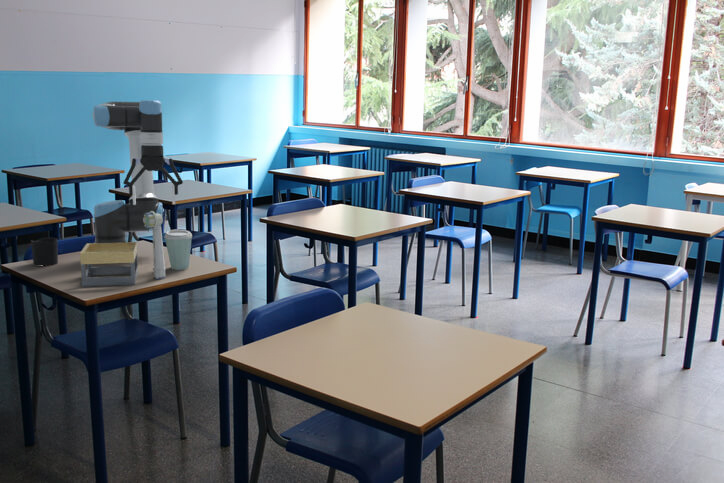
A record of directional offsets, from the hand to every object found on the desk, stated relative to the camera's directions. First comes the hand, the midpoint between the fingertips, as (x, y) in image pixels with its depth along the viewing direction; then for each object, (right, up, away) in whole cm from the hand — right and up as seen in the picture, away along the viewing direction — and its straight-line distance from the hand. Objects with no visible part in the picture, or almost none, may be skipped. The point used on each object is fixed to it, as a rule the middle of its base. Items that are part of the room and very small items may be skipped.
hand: (154, 204), depth 241 cm
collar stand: (-16, -27, +2) cm, 32 cm away
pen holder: (-50, -23, +24) cm, 60 cm away
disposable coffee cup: (+3, -24, +21) cm, 32 cm away
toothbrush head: (-1, -27, +5) cm, 28 cm away
